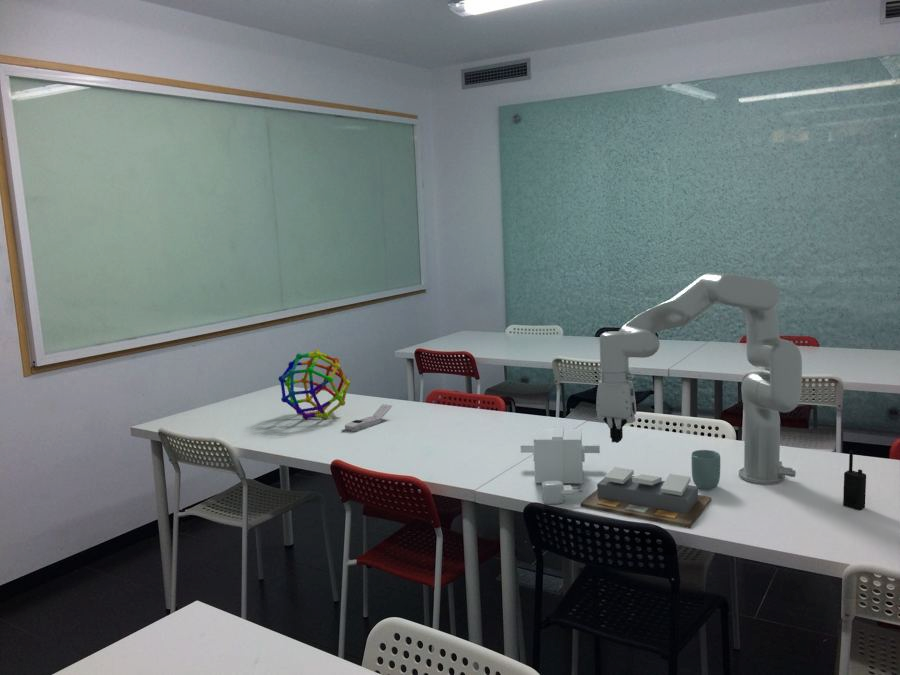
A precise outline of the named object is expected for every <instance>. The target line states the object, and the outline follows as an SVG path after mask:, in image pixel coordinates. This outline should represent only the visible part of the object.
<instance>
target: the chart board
mask: <svg viewBox="0 0 900 675" xmlns="http://www.w3.org/2000/svg"><path fill="white" fill-rule="evenodd" d="M712 499H713V498H712V496H707V495H701V494H698V501H697V503H696V504H695V505H694V506H693V507H692V509H691V510H690V511H689V512H688V514H685V513H680V512H674V511H669V510H663V509H658V508H652V507H647V506H642V505H636V504H631V503H625V502H620V501H615V500H609V499H604V498H598V495H597V489H596V490H594V491H593V492H592V493H591V494H590V495H589V496H587V497H586V498H585V499H584V500H582V502H580V506H582V507H581V508H585V509H590V510H595V511H596V510H597V511H601V512H605V513H611V514H617V515H621V516H624V517H625V516H627V517H632V518H635V519H641V520H646V521H647V520H648V521H651V522H652V521H653V522H657V523H662V524H668V525H673V526H677V527H682V528H687V527H688V529H691V528H692V527H693V525H694V524H695V523H696V521H697V520H698V518H700V516H701V515H702V513H704V511H705V510H706V508H707V507H708V505H709V504H710V503H711V502H712ZM580 506H579V507H580Z"/></svg>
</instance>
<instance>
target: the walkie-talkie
mask: <svg viewBox="0 0 900 675" xmlns="http://www.w3.org/2000/svg"><path fill="white" fill-rule="evenodd" d="M848 457H849V458H848V470H846V471H845V472H844V473H843V494H842V497H843V498H842V499H843V500H842V502H843V503H842V505H843V507H845V508H850V509H854V510H856V511H861V510H864V509H865V508H866V493H867V492H866V490H867V487H866V486H867V474H866V473H863V470H862V469H860V468H859V469H857V471H856V470H853V463H854V462H853V461H854V460H853V459H854V458H853V457H854V451H853V450H849V456H848Z"/></svg>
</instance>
